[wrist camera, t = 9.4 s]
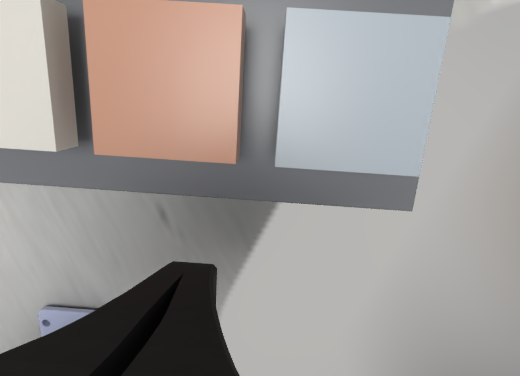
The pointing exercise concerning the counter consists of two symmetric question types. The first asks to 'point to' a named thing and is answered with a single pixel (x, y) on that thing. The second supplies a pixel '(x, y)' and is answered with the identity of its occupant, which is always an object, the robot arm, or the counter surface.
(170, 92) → the terracotta key
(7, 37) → the ivory key
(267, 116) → the key console
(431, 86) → the slate key
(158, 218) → the counter surface
